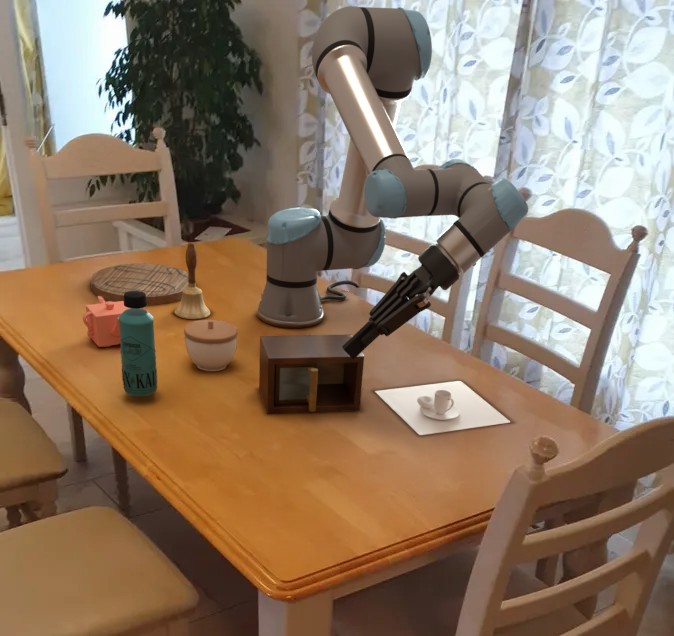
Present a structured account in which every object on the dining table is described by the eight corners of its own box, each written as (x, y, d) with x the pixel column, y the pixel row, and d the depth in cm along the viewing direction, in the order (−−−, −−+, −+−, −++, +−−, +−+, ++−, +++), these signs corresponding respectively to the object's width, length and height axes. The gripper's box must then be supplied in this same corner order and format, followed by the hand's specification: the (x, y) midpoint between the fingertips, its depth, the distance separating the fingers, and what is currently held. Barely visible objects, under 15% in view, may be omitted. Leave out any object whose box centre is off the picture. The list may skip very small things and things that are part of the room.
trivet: (111, 266, 233) (110, 259, 232) (205, 277, 231) (205, 269, 230) (75, 298, 213) (74, 290, 212) (178, 309, 212) (178, 301, 210)
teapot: (128, 325, 202) (125, 288, 197) (151, 350, 192) (149, 311, 187) (75, 332, 197) (71, 293, 192) (96, 357, 187) (92, 318, 182)
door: (314, 401, 173) (316, 359, 168) (319, 413, 169) (322, 370, 164) (274, 402, 172) (275, 360, 167) (278, 415, 168) (280, 371, 163)
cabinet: (347, 387, 183) (351, 334, 177) (359, 410, 175) (364, 356, 168) (259, 389, 180) (259, 335, 173) (267, 413, 171) (268, 358, 165)
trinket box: (228, 379, 183) (228, 333, 177) (178, 371, 184) (176, 326, 178) (243, 359, 191) (243, 315, 185) (195, 352, 192) (193, 308, 187)
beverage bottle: (125, 389, 176) (117, 286, 164) (160, 390, 176) (154, 287, 164) (121, 404, 170) (113, 298, 158) (157, 405, 171) (151, 299, 159)
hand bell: (216, 310, 213) (215, 240, 203) (200, 322, 206) (198, 250, 197) (184, 304, 215) (182, 234, 205) (168, 315, 208) (164, 244, 199)
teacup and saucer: (410, 404, 178) (413, 385, 176) (445, 400, 181) (448, 381, 179) (431, 424, 172) (434, 404, 170) (467, 419, 175) (470, 399, 172)
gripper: (471, 286, 154) (368, 381, 161) (449, 262, 164) (353, 352, 171) (446, 254, 150) (341, 353, 157) (424, 232, 160) (327, 325, 167)
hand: (347, 353), depth 164 cm, fingers closed
